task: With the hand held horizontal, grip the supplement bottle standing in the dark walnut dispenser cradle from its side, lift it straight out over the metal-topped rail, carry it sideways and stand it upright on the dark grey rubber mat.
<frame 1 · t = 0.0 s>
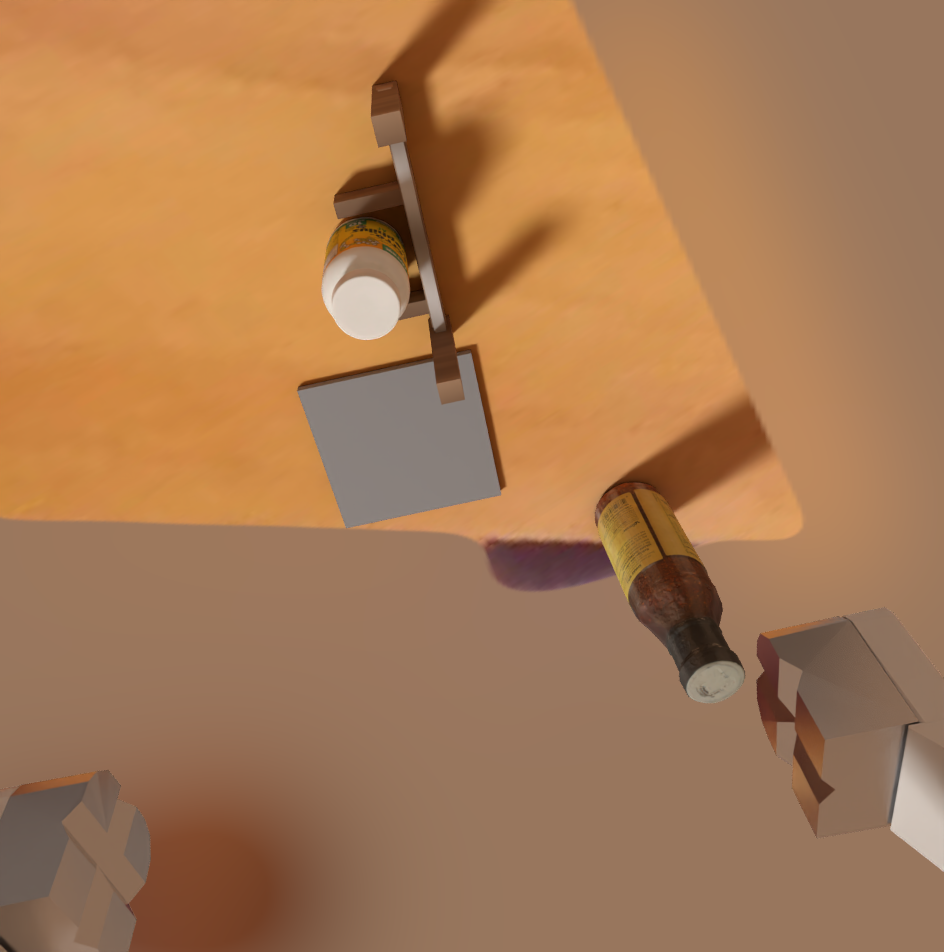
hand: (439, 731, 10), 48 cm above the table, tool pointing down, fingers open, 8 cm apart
dispenser cradle: (367, 254, 55), on the table
supplement bottle: (367, 253, 55), on the table
sauce bottle: (629, 505, 70), on the table
grey mat: (404, 441, 64), on the table
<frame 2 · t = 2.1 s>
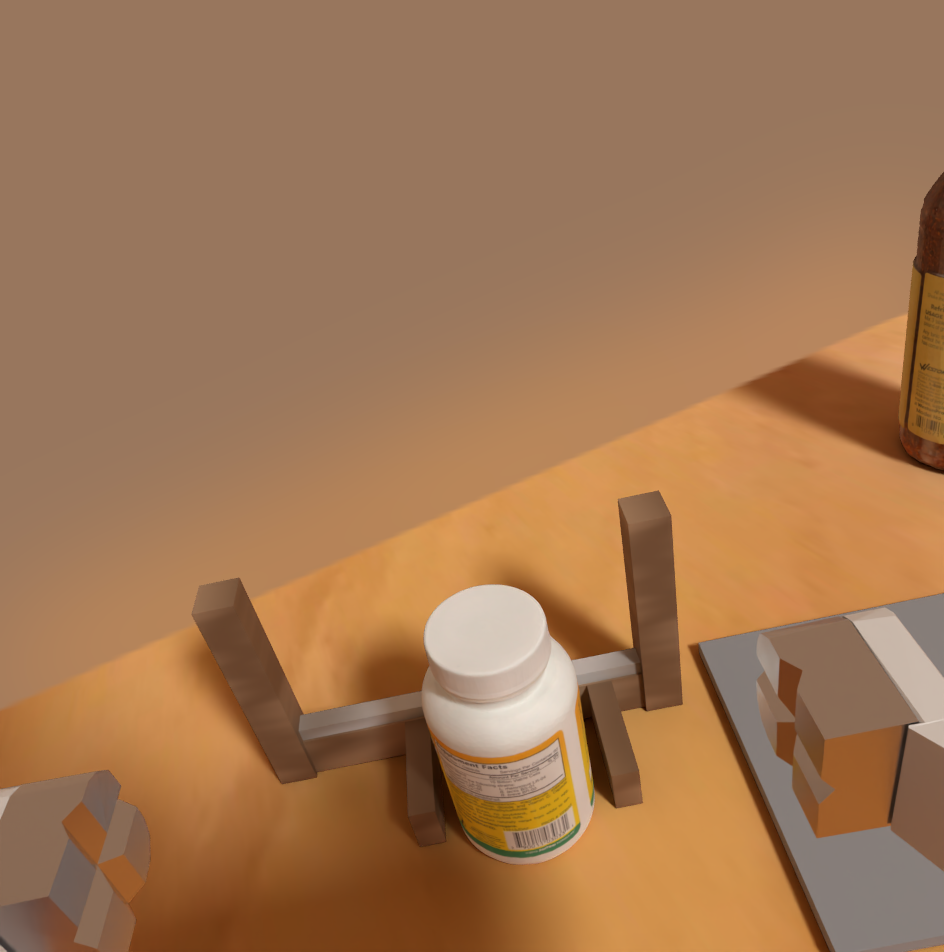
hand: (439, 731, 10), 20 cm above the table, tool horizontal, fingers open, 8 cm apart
dispenser cradle: (527, 801, 31), on the table
supplement bottle: (527, 804, 32), on the table
grey mat: (929, 746, 30), on the table
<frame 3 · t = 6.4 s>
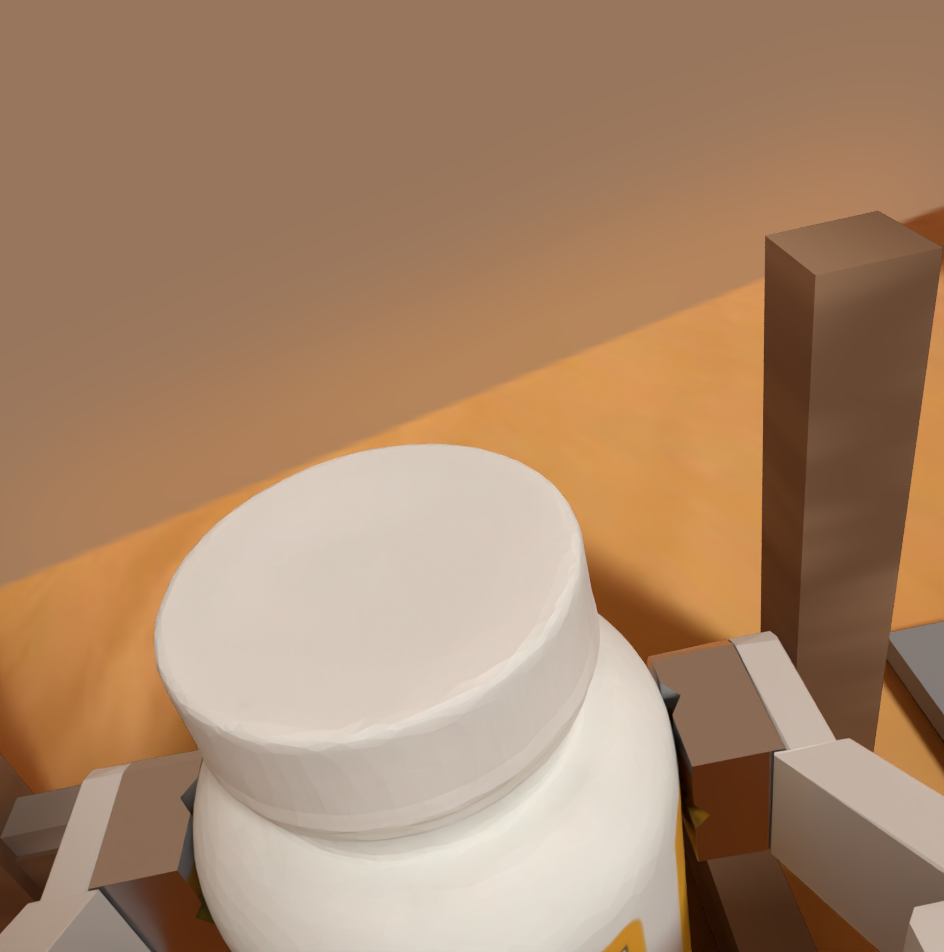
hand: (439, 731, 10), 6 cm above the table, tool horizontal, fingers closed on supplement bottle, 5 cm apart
when the fingers open (7 cm above the table, at t = 11.6 s): supplement bottle stays where it is, resting on grey mat.
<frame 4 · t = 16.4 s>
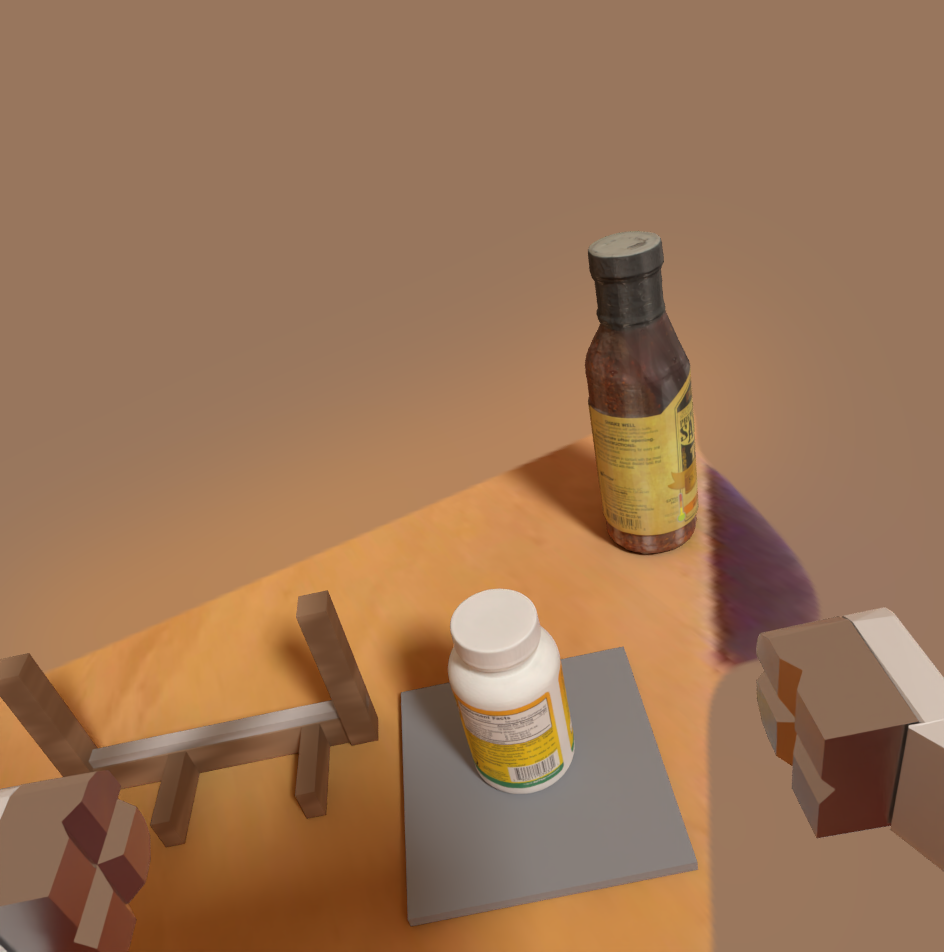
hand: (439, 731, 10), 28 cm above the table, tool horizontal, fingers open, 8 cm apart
dispenser cradle: (248, 813, 43), on the table
supplement bottle: (525, 753, 42), resting on grey mat
sauce bottle: (651, 529, 56), on the table
grey mat: (530, 773, 42), on the table
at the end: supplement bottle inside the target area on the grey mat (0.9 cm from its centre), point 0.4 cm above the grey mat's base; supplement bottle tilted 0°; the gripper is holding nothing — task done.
